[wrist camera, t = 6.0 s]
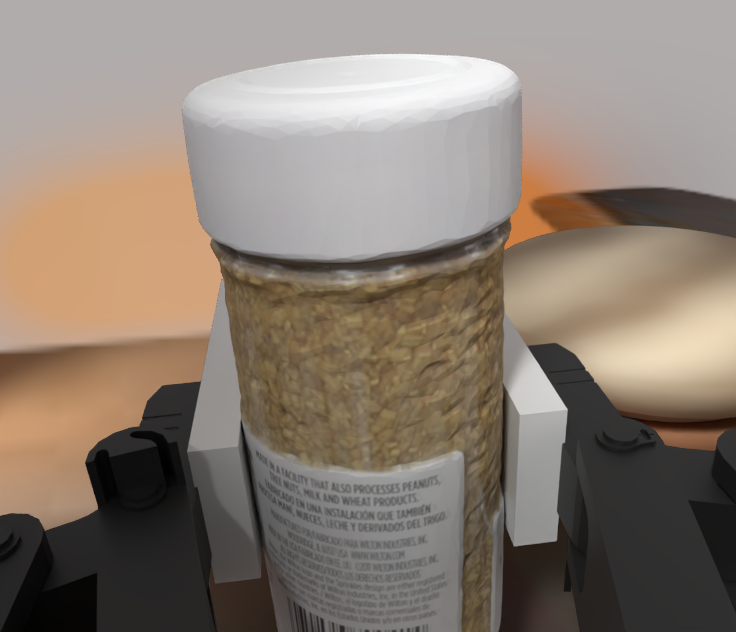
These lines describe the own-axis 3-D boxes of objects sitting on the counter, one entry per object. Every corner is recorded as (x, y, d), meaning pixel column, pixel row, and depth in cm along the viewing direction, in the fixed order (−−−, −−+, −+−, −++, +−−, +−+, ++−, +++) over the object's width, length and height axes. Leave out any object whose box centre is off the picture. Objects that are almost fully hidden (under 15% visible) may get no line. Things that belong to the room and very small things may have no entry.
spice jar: (532, 681, 16) (575, 47, 10) (436, 882, 13) (413, 108, 7) (363, 598, 18) (315, 45, 12) (244, 749, 15) (97, 90, 9)
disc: (416, 356, 29) (414, 290, 28) (591, 263, 37) (596, 207, 35) (738, 507, 20) (759, 421, 19) (881, 344, 28) (903, 274, 27)
